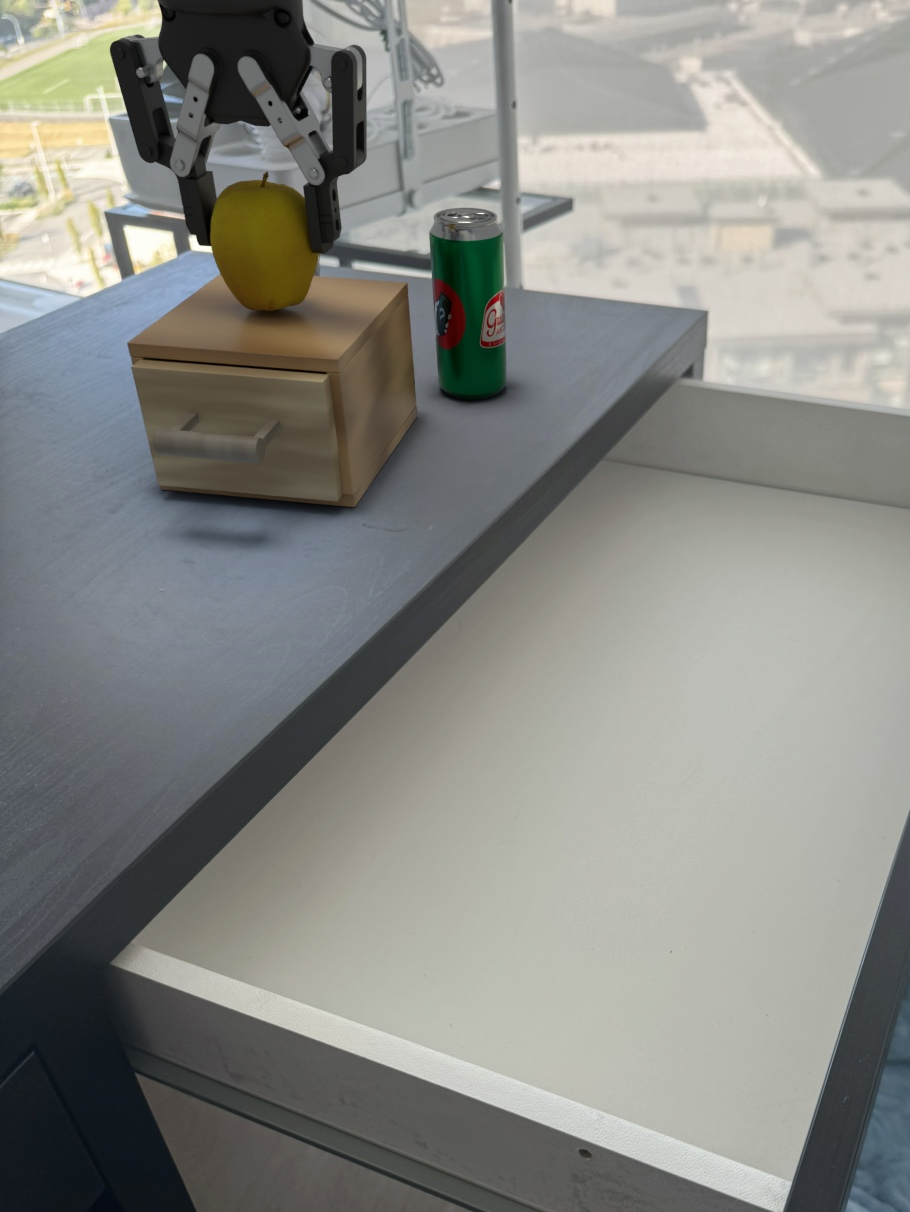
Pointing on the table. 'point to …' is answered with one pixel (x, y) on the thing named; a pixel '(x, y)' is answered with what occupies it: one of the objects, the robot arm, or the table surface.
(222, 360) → the cabinet
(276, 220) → the apple
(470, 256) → the soda can
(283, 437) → the drawer
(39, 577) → the table surface
